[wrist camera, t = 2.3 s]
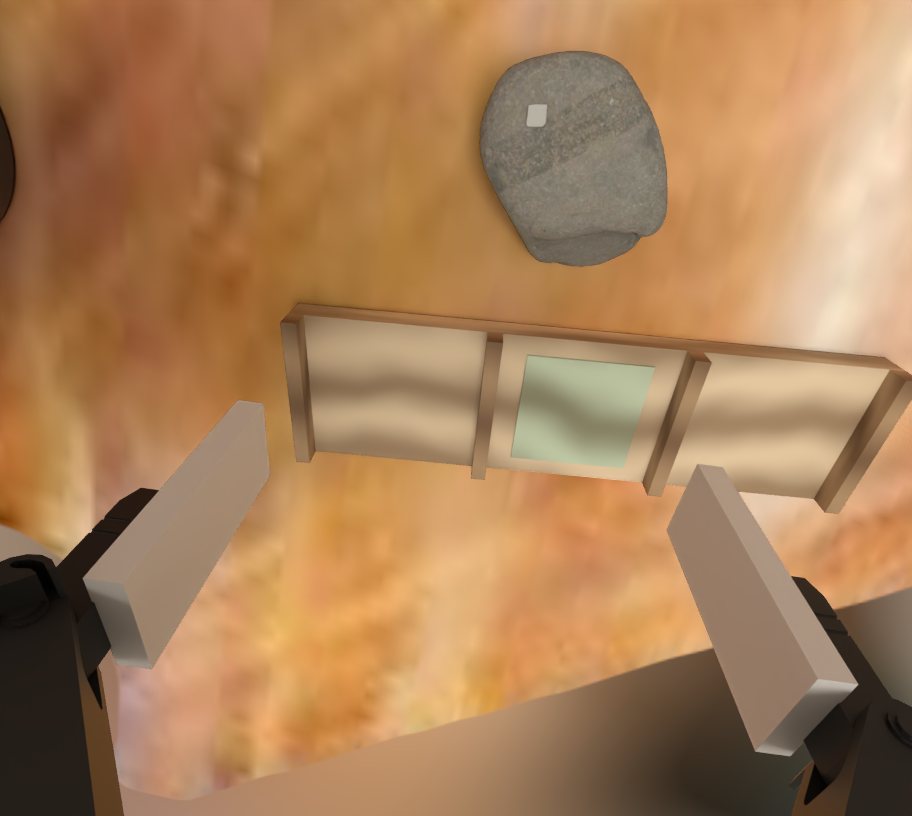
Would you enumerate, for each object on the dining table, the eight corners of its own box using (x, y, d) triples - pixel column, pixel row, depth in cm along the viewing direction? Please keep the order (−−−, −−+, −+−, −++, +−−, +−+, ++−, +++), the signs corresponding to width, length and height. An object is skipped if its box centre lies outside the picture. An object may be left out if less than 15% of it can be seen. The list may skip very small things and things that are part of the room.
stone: (504, 284, 33) (494, 248, 23) (482, 147, 33) (461, 50, 23) (647, 256, 32) (700, 205, 22) (625, 112, 31) (669, -7, 21)
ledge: (298, 303, 35) (280, 322, 32) (884, 357, 34) (922, 382, 31) (310, 435, 40) (296, 461, 37) (812, 483, 40) (838, 513, 37)
